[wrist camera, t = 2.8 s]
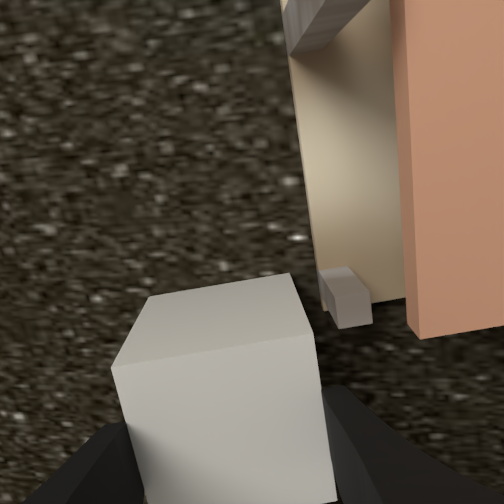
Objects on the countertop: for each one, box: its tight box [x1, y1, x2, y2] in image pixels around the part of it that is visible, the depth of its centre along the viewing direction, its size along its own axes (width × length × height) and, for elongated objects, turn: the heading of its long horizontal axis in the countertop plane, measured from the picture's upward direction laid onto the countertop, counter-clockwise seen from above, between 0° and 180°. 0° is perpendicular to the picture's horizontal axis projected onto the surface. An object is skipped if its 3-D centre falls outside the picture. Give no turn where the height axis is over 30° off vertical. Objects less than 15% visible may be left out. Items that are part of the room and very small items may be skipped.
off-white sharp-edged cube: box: [111, 273, 337, 504], centre depth 14 cm, size 5×5×5 cm
